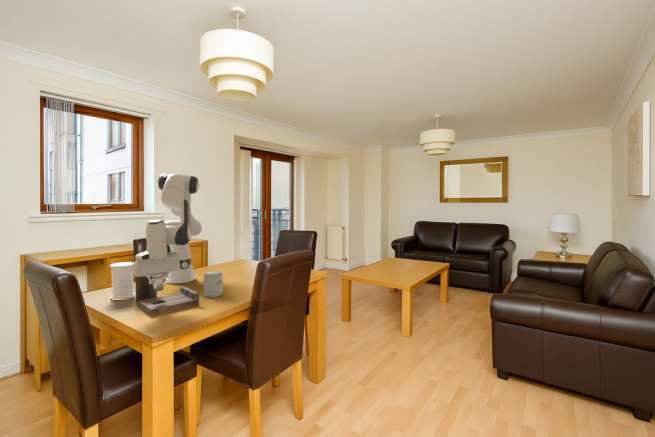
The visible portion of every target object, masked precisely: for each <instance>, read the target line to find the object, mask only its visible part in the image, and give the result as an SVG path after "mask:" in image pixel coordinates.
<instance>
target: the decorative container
mask: <svg viewBox="0 0 655 437" xmlns="http://www.w3.org/2000/svg"><path fill="white" fill-rule="evenodd" d="M133 265H134V262H132V261H125V262H115V263H112V264H110V265H109V268H110V269H111V272H110V274H111V276H112V277H111V281H112V283H111V287H112V290H111V293H112V295H110V298H111V299H128V300H130V299H129V298H132V299H134V298H136V297H135V296H136V292H135V291H134V290H135V286H134V285H135V284H134V283H135V282H134V277H135V275H134V274H133ZM133 297H134V298H133ZM111 299H110V300H111Z"/></svg>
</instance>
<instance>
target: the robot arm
mask: <svg viewBox="0 0 655 437" xmlns="http://www.w3.org/2000/svg"><path fill="white" fill-rule="evenodd" d="M199 181H200V180H199V179H198V177H196V176H194V175H187V174H181V173H179V174H178V173H168V172H167V173H162V174H160V175H159V176H158V179H157V185H158V189H159V190H160V191H161V194H160V200H161V202H162V203H163V205H164V206H165V207H167V208H168V209H170V211H171V213H172V214H173V215H174V216H177V217H179V218H180V219H177V220H176V219H175V220H164V219H151V220H149V221H148V222H147V223H146V228H145V240H146V246H145V247H146V250H144V251H142V252H139V253H137V254H135V256H134V258H135V260H134V262H133V263H134V265H133V276H134V277H135V276H137V277H138V276H145V275H146V277H147V278H148V280H149V284H154V280H151V279H150V277H151V275H152V274H159V273H165V275H164V276H163V283H165V284H184V283H191V282H192V281H194V280H196V279H197V277H196V276H195V273H194V272H195V271H194V270H195V269H194V266H193V265H192V259H191V247H190V245H189V244H188V243H189V242H190V241H191V239H192V237H196V236H199V235H200V234H201V233H202V229H203V227H202V223H201V222H200V221H199V220H197V219H196V218H195V217H194V215H193V214H192V211H191V210H192V209H191V208H192V207H191V205H192V204H191V202H192V199H191V198H192V196H191V195H194V194H197V193H198V190H199V188H200V182H199ZM167 245H168V246H169V249H170V252H168V246H167Z"/></svg>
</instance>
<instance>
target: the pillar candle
mask: <svg viewBox="0 0 655 437" xmlns="http://www.w3.org/2000/svg"><path fill="white" fill-rule="evenodd" d="M134 277H135V293H136V297H135V302H136V303H137V304H139V301H141V300H146V299H151V298H156V297H158V291H153V284H149V280H148V278H147V277H146V275H145V276H138V277H137V276H135V275H134ZM150 279H151V280H153V277H150Z"/></svg>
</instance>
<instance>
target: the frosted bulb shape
mask: <svg viewBox="0 0 655 437" xmlns="http://www.w3.org/2000/svg"><path fill="white" fill-rule="evenodd" d="M164 276H165V273H159V274H152V275H151V277H153V280H154V284H153V291H157V292H162V291H164V282H163V277H164Z"/></svg>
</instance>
